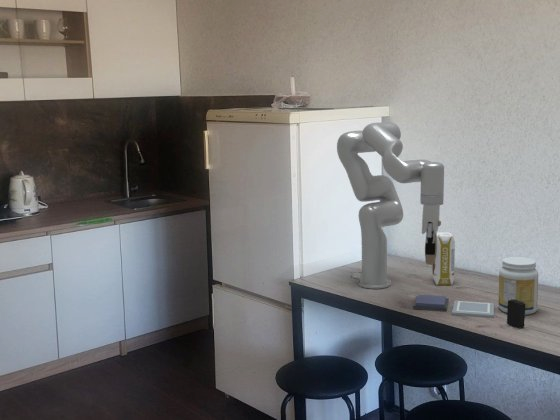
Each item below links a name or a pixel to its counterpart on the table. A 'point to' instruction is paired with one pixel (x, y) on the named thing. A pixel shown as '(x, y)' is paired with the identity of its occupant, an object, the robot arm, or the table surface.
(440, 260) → the juice carton
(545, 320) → the table surface
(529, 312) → the supplement tub
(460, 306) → the marked board
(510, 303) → the ink cartridge
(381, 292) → the table surface
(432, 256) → the handle
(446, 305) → the ink pad
